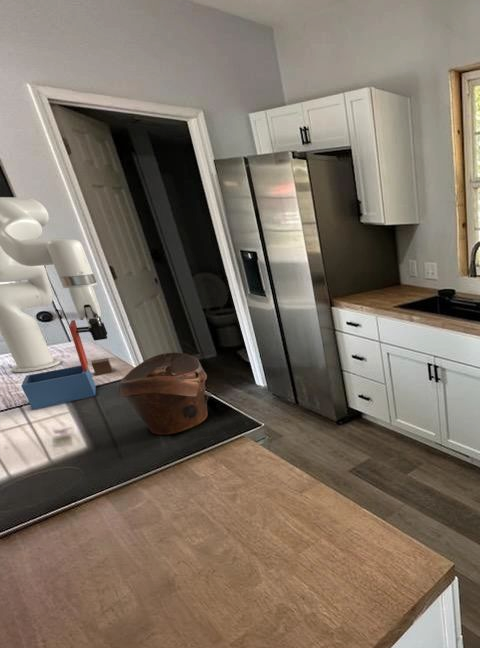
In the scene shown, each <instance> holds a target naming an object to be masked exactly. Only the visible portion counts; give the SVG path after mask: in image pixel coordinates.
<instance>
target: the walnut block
mask: <svg viewBox="0 0 480 648" xmlns="http://www.w3.org/2000/svg"><path fill="white" fill-rule="evenodd" d="M90 363H91V367H92V369H93V371H94V373H95V376H100V375H104V374H111V373H113V371H114V370H113V366H112V364H111V361H110V359H109V357H105V358H99V359H93V360H91V362H90Z"/></svg>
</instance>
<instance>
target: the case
mask: <svg viewBox="0 0 480 648" xmlns="http://www.w3.org/2000/svg"><path fill="white" fill-rule="evenodd" d="M207 379H208V375H207V373H206V372H205V370H204V367H202V364H201V362H200V361H199V359H198V358H197V357H195V356H193V355H192V354H187V353H183V352H166V353H165V352H164V353H161V354H160V353H159V354H157V355H154V356H151V357H149V358H147V359H145V360H144V361H142V362H141V363H139V364H138V365H136V366H135V367H133V368H132V369H131V370H130V371H129V372H128V373H127V374H126V375H125V376H123V378H122V379H121V380H120V381H119V384H118V394H119V396H120V397H122V398H126V400H127V401H128V402H129V404H130V405H131V406H132V408H133V409H134V410H135V412H136V413H137V415H138V416H139V417H140V418H141V420H142V421H143V422H144V424H145V425H146V426H147V428H148V429H149V431H150V432H151V433H152V434H155V435H159V436H166V435H174V434H177V433H180V432H185V431H187V430H189V429H192V428H194V427H196V426H198V425H200V424H202V422H204V421H205V420H206V419H207V418H208V415H209V414H208V412H209V411H208V401H209V397H212V396H213V394H212V392H209V391H207V390H206V381H207Z"/></svg>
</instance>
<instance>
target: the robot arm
mask: <svg viewBox="0 0 480 648" xmlns="http://www.w3.org/2000/svg"><path fill="white" fill-rule="evenodd" d="M49 216H50V215H49V212H48V209H46V207H45V206H44V204H42V203H41V202H40V201H38V200H36V199H34V198H30V197H22V196H21V197H20V196H19V197H14V196H12V197H11V196H10V197H9V196H7V197H6V196H0V283H1V284H0V334H1V336H2V339H3V340H4V342H5V344H6V346H7V348H8V351H9V353H10V354H11V357H12V358H13V360H14V363H15V366H13V367H12V368H11V370H12V372H13V373H28V372H36V371H40V370H45V369H48V368H52V367H55V366H58V365H59V364H61V359H60V358H53V355H52V352H51V351H50V348H49V346H48V344H47V342H46V340H45V337H44V335H43V333H42V330H41V328H40V326H39V324H38V322H37V320H36V319H35V318H34V317H33V316H31V315H30V314H27V313H25V312H23V311H22V310H26V309H32V308H38V307H43V306H48V305H51V304H52V303H53V301H54V296H53V291H52V288H51V284H50V281H49V277H48V272H47V270H46V267H45V266H52V265H53V266H54V269H55V271H56V274H57V276H58V278H59V281H60V283H61V286H62V288H63V289H68V291H69V294H70V298H71V301H72V302H73V306H74V308H75V310H76V314H77V316H78V318H79V319H78V320H80V321H83V320H84V319H86V322H87V325H88V327H89V330H90V332H91V333H90V332H89V333H90V335H91V337H92V339H93V341H95V342H96V341H101V340H107V339H108V331H107V329H106V326H105V323H104V322H103V321H102V318H101V317H102V311H101V306H100V302H99V300H98V297H97V294H96V292H95V289H94V287H93V286H97V285H98V283H97V280H96V277H95V275H94V273H93V270H92V267H91V264H90V262H89V260H88V257H87V254H86V251H85V249H84V246H83V244H82V242H81V241H80V240H78V239H75V238H74V239H73V238H63V237H59V238H58V237H57V238H40V237H41V236H42V234H43V228H44V227H45V226H46V225H47V224H48V223H49V220H50V217H49Z"/></svg>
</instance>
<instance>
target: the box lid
mask: <svg viewBox="0 0 480 648" xmlns="http://www.w3.org/2000/svg"><path fill="white" fill-rule="evenodd" d="M68 326H69V327H68V328H69V331H70V334H71V337H72V339H73V340H72V341H73V343H74V346H75V347H74V348H75V350H76V353H77V356H78V360H79V363H80V366H82V369H83V372H87V366H88V365H89V362H88V358H87V355H86V352H85V348H84V345H83V342H82V339H81V335H80V333H81V334H82V333H90V334H91V332H90V330H89V326H80V327H78V326H77V324H76V319H71V320H70V323H69V325H68ZM88 367H89V366H88Z"/></svg>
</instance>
